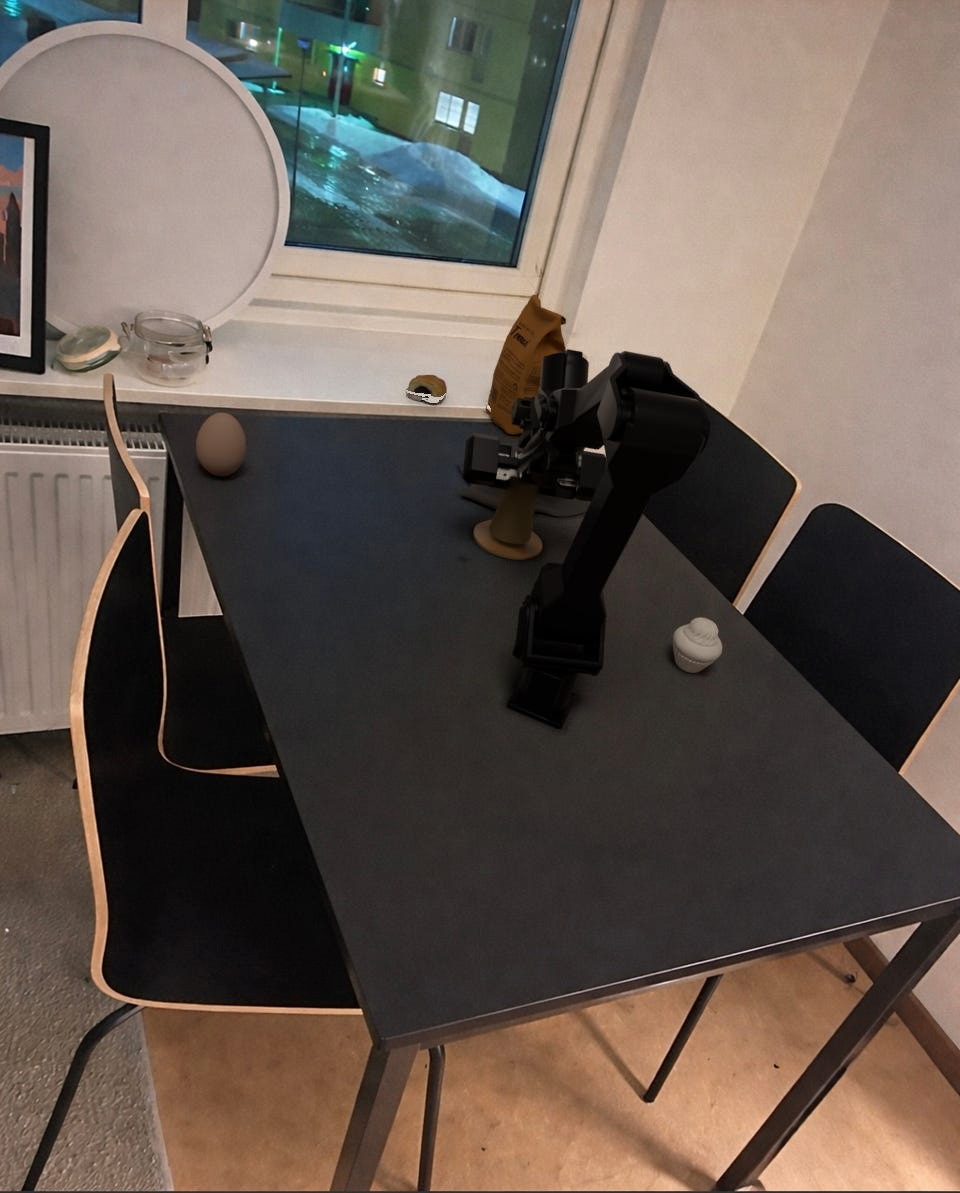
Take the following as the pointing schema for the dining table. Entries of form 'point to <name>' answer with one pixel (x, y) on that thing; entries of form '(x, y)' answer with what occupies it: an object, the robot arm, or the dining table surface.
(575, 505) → the cloth
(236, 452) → the egg
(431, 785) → the dining table surface
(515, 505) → the pepper shaker
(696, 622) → the muffin
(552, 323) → the coffee package
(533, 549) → the cork coaster
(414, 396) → the pastry
